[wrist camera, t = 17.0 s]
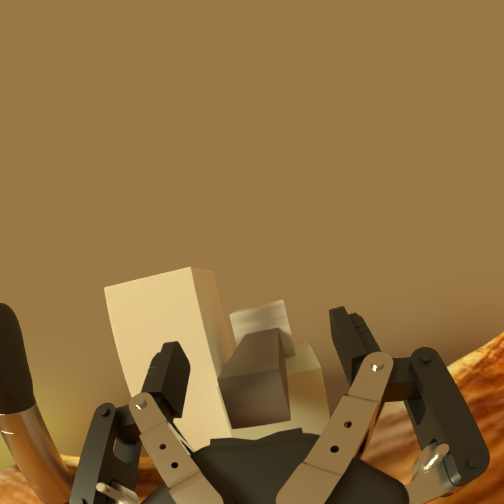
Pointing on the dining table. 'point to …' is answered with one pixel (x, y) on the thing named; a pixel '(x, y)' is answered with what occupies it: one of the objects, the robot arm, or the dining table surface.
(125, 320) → the tall stand
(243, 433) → the grey green tall block
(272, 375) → the handle
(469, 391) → the dining table surface
